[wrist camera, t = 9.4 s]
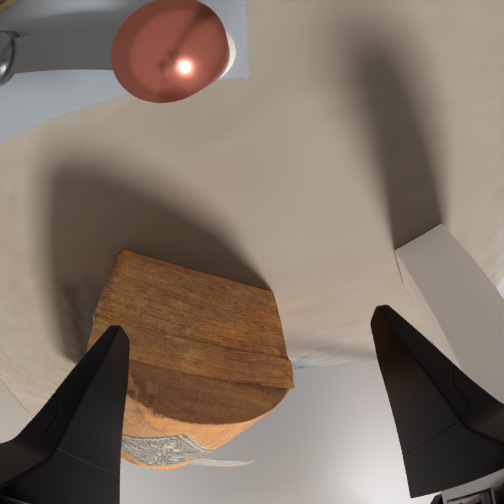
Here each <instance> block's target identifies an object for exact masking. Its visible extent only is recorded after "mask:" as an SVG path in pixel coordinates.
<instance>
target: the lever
mask: <svg viewBox="0 0 504 504" xmlns="http://www.w3.org/2000/svg"><path fill="white" fill-rule="evenodd" d="M229 60H230V49H229V44H228V40H227V36H226V31H225V28H224V26H223V23H222V21H221V20H220V18H219V17H218V15H217V14H216V13H215V12H214V11H213V10H212V9H211V8H210V7H208V6H207V5H205V4H203V3H201V2H199V1H197V0H155V1H152V2H150V3H148V4H145V5H144V6H142V7H140V8H139V9H137V10H136V11H135V12H133V13H132V14H131V15H130V16H129V17H128V18H127V19H126V20H125V21H124V23H123V24H122V25H121V27H97V28H80V29H68V30H59V31H51V32H45V33H38V34H33V35H27V36H22V37H20V35H19V33H17V32H16V31H13V30H6V31H0V86H2V85H4V84H6V83H7V82H8V81H9V80H10V79H11V78H12V77H13V75H14V74H17V73H25V72H35V71H49V70H113V72H114V74H115V77H116V78H117V80H118V82H119V83H120V84H121V86H122V87H123V88H124V89H125V90H126V91H127V92H129V93H130V94H132V95H133V96H135V97H137V98H139V99H142V100H145V101H149V102H156V103H167V102H174V101H178V100H182V99H184V98H187V97H189V96H191V95H193V94H195V93H197V92H198V91H200V90H201V89H203V88H205V87H206V86H208V85H210V84H211V83H213V82H214V81H216V80H217V79H218V78H220V76H221V75H222V74H223V73H224V72H225V70H226V68H227V66H228V64H229Z"/></svg>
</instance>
